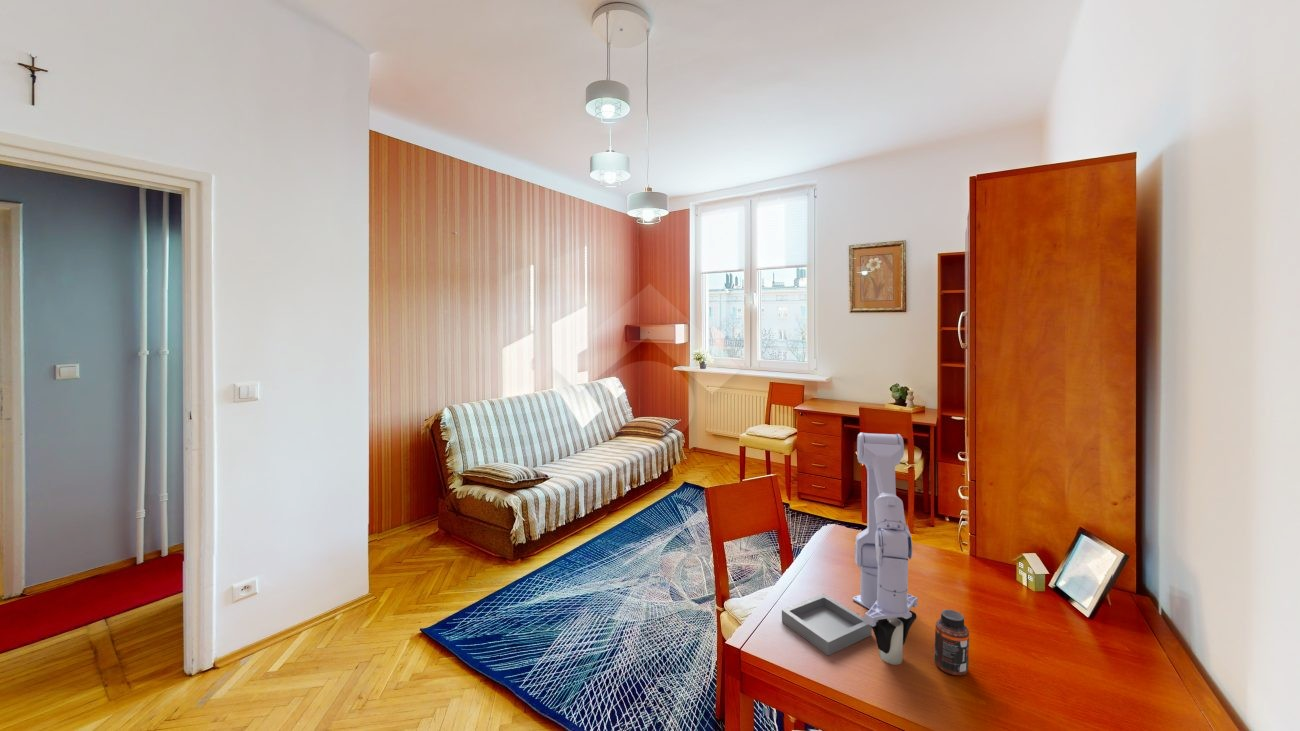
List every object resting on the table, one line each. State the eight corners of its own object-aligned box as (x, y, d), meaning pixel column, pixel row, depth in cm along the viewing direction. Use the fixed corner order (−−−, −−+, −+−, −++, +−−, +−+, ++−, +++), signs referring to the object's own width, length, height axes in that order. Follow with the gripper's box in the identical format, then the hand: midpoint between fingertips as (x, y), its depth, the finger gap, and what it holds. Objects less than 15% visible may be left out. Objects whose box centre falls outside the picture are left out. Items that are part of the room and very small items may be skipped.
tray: (823, 605, 125) (823, 593, 125) (871, 635, 113) (871, 622, 112) (781, 621, 118) (781, 609, 118) (828, 655, 106) (828, 642, 106)
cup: (888, 648, 108) (888, 613, 107) (906, 660, 104) (907, 623, 103) (874, 655, 106) (875, 619, 105) (893, 667, 102) (894, 630, 101)
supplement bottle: (973, 679, 98) (975, 625, 97) (940, 675, 99) (942, 621, 98) (960, 659, 104) (962, 607, 103) (930, 655, 105) (931, 605, 104)
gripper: (886, 604, 97) (885, 670, 98) (932, 584, 104) (930, 646, 105) (856, 587, 103) (855, 649, 104) (901, 570, 110) (899, 628, 111)
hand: (891, 646), depth 105 cm, fingers closed on cup, 4 cm apart
